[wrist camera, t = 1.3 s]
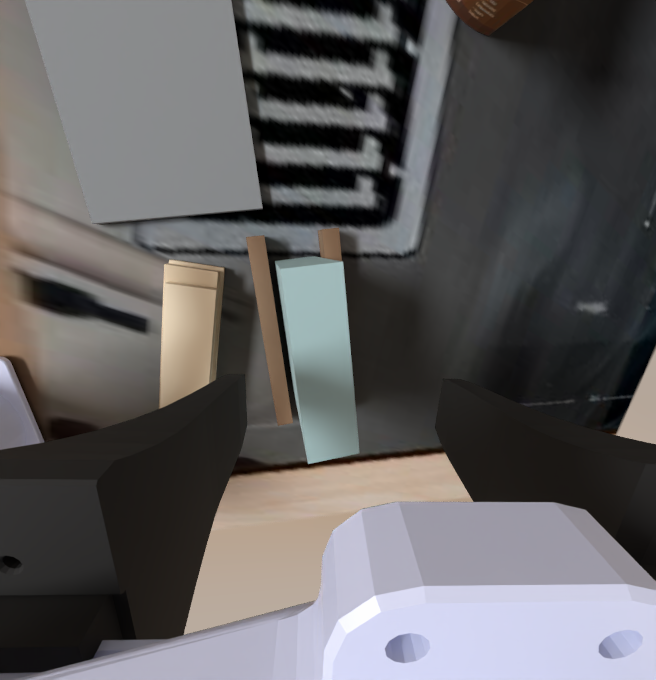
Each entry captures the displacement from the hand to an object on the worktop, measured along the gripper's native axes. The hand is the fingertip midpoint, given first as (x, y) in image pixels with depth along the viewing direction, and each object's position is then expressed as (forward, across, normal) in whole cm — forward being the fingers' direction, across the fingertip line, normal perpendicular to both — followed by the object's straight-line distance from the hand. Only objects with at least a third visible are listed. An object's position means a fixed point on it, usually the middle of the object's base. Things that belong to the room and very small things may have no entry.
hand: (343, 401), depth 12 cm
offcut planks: (+10, +9, +1) cm, 13 cm away
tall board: (+10, +2, 0) cm, 11 cm away
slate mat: (+10, +10, -12) cm, 18 cm away
